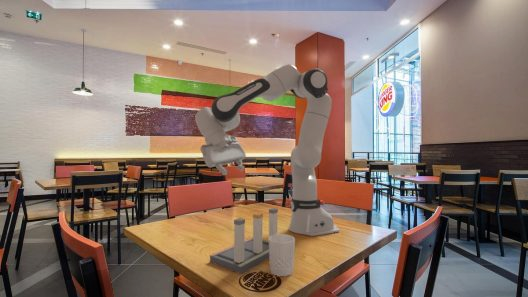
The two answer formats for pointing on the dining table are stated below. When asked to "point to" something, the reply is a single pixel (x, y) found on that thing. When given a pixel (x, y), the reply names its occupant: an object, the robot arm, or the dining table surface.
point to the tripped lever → (257, 232)
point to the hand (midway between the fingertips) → (234, 172)
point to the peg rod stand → (244, 248)
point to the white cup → (281, 254)
